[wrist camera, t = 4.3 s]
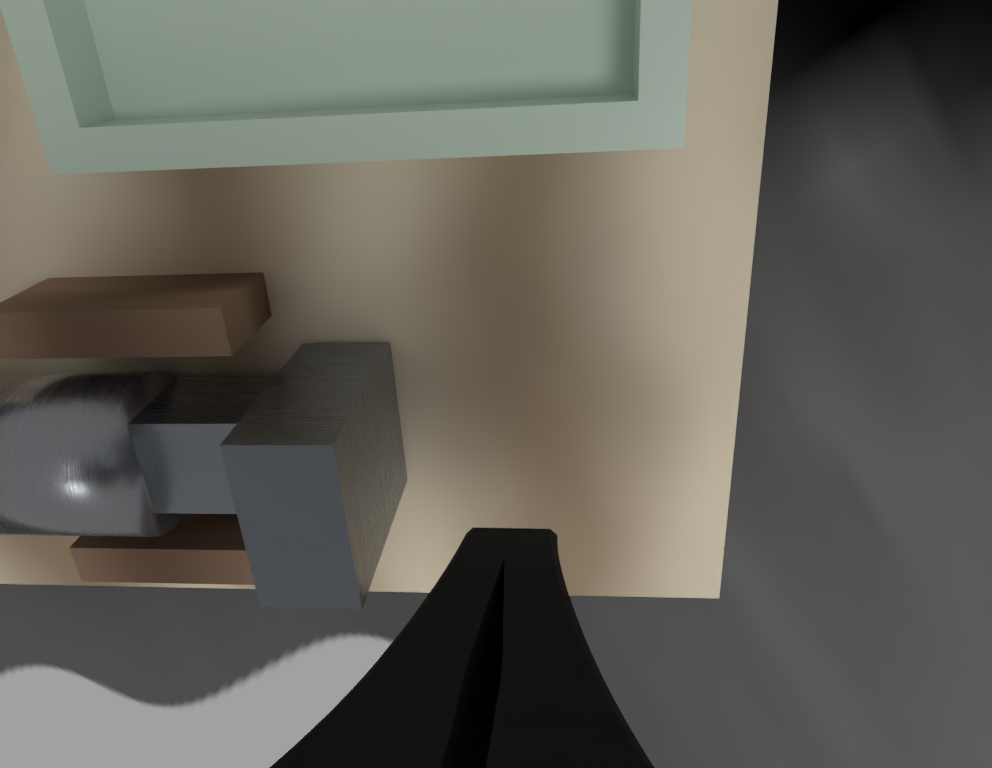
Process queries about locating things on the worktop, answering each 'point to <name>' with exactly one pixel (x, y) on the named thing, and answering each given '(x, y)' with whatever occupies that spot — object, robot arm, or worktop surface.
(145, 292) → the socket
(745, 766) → the worktop surface
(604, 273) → the board
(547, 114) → the tray
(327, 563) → the grey stepped block
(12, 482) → the grey cylinder
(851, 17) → the worktop surface
